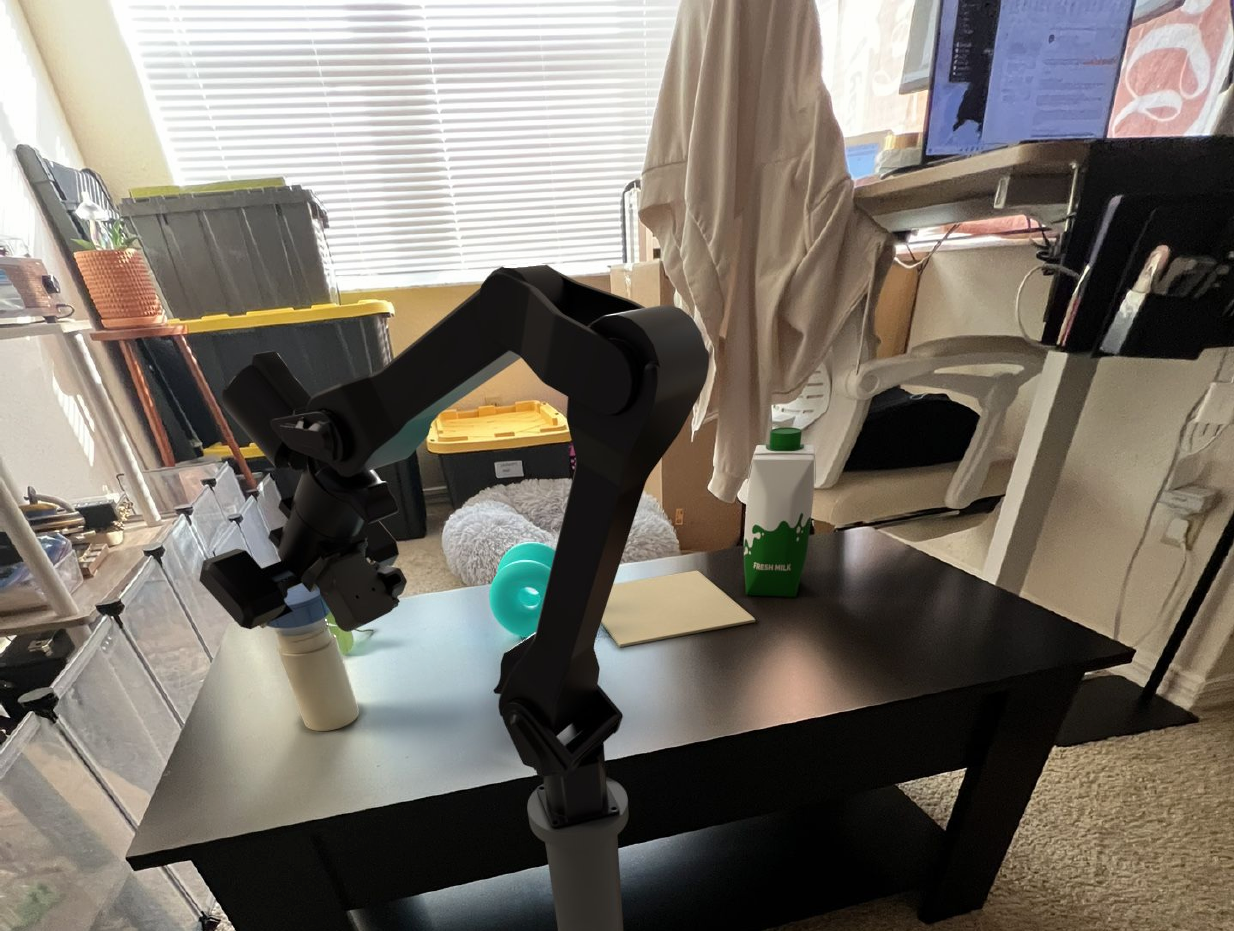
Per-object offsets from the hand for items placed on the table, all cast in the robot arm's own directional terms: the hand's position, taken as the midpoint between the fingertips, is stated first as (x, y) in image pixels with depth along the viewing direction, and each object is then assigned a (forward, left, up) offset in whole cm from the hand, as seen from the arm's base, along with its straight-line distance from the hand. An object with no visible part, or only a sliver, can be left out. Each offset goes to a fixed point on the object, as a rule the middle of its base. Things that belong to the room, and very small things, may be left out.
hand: (287, 611), depth 75 cm
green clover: (+18, -4, -12) cm, 22 cm away
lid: (-1, -1, +2) cm, 2 cm away
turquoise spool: (+14, -28, -12) cm, 34 cm away
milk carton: (+13, -63, -12) cm, 65 cm away
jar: (-1, -1, -12) cm, 12 cm away
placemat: (+13, -46, -12) cm, 49 cm away
